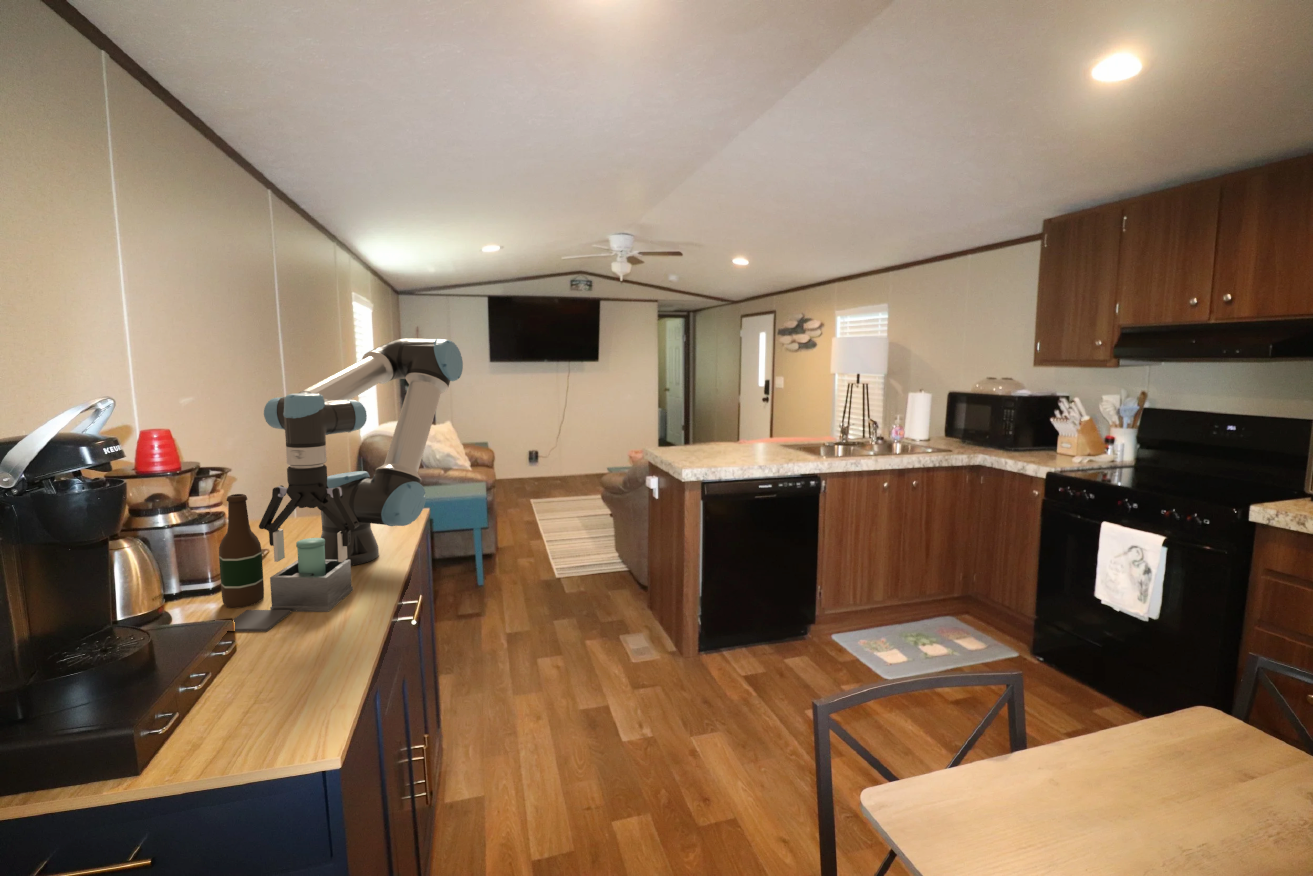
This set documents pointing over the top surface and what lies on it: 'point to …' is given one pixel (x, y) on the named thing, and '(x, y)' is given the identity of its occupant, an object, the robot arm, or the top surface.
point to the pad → (259, 620)
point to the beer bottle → (240, 558)
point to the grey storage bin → (311, 588)
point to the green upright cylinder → (311, 556)
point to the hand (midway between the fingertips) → (311, 560)
